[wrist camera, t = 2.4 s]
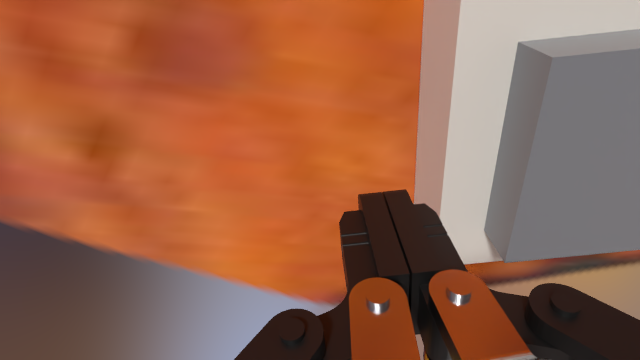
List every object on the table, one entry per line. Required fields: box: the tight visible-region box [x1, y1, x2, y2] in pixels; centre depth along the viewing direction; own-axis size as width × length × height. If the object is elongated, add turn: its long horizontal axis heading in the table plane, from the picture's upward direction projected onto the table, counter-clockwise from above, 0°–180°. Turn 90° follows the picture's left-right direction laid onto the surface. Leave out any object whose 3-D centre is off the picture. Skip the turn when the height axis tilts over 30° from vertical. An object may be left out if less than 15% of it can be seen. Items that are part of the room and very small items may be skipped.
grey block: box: [484, 29, 640, 263], centre depth 13 cm, size 8×8×2 cm
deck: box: [414, 0, 640, 264], centre depth 16 cm, size 16×12×4 cm
